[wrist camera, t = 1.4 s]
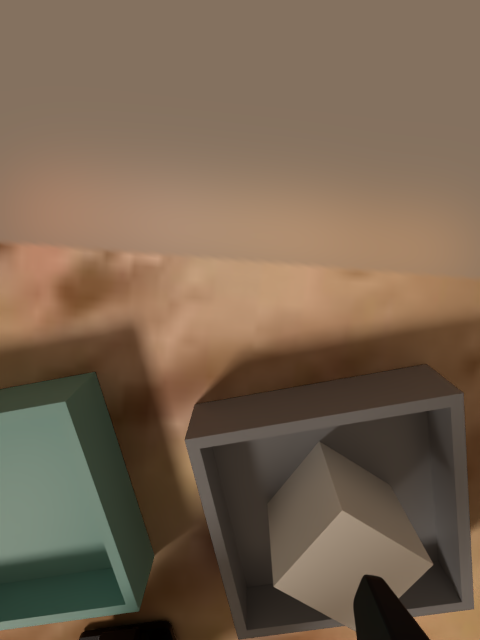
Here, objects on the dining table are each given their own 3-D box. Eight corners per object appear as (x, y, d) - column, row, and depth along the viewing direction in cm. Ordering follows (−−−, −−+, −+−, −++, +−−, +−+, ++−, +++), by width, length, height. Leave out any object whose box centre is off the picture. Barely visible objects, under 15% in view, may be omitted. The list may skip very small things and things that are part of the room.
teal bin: (154, 555, 24) (139, 611, 20) (-33, 583, 24) (-78, 640, 21) (95, 371, 20) (65, 401, 17) (-119, 411, 21) (-188, 446, 18)
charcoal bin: (440, 552, 23) (473, 608, 20) (239, 580, 24) (238, 639, 21) (426, 364, 20) (463, 392, 17) (194, 404, 21) (184, 439, 17)
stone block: (389, 484, 21) (433, 564, 16) (335, 543, 22) (361, 634, 17) (319, 441, 20) (342, 510, 15) (267, 503, 21) (273, 586, 16)
